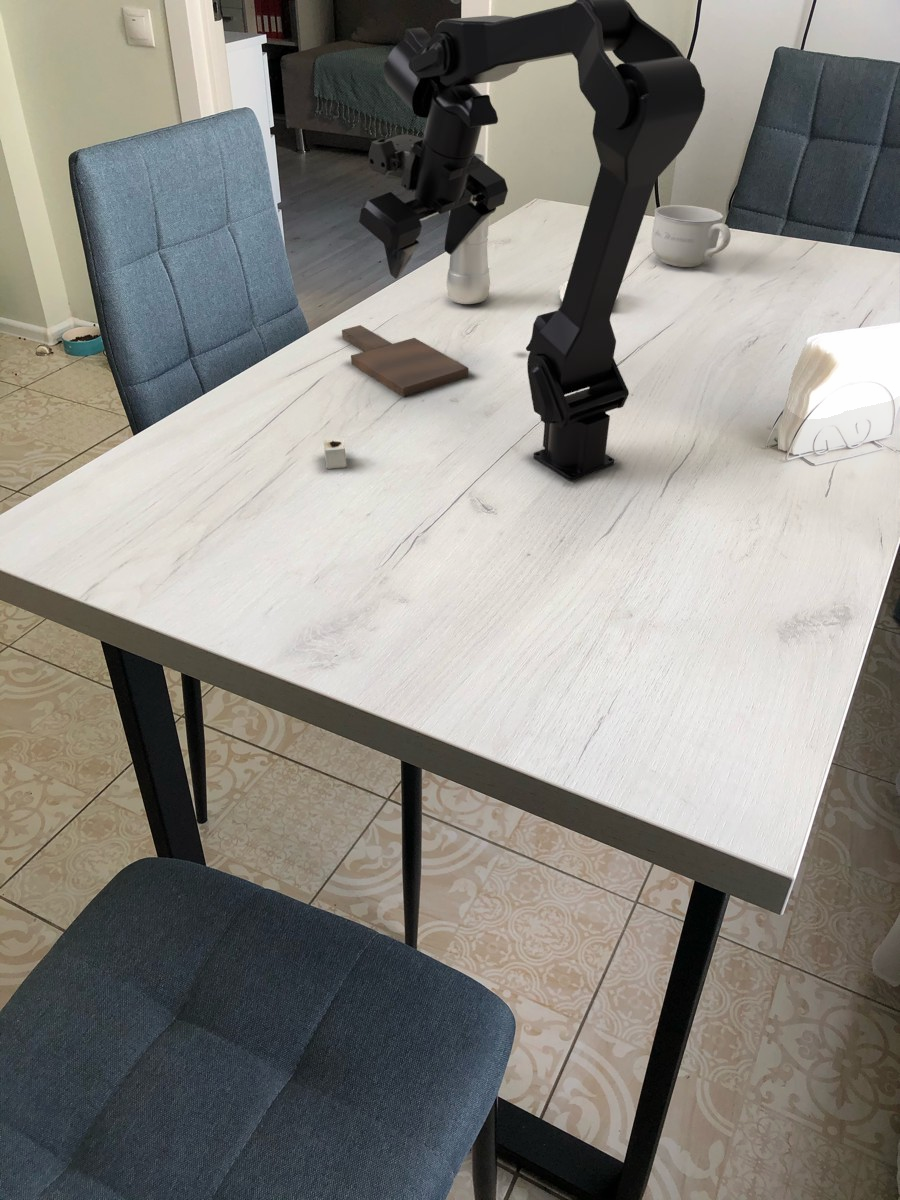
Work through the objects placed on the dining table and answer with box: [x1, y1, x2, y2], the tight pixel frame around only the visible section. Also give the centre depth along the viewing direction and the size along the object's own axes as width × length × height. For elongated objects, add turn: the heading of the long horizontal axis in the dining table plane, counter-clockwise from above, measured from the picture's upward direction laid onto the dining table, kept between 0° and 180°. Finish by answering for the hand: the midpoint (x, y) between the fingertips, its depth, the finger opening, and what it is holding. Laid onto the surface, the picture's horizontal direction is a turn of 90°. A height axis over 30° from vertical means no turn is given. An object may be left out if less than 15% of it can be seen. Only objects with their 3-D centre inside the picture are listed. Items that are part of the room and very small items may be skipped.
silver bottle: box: [445, 152, 492, 305], centre depth 134 cm, size 6×7×20 cm
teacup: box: [651, 204, 732, 268], centre depth 151 cm, size 14×11×8 cm
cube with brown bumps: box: [323, 438, 347, 470], centre depth 101 cm, size 2×2×2 cm
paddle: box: [341, 324, 469, 398], centre depth 123 cm, size 20×10×1 cm, turn 37°
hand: (421, 264), depth 113 cm, fingers open, 9 cm apart
